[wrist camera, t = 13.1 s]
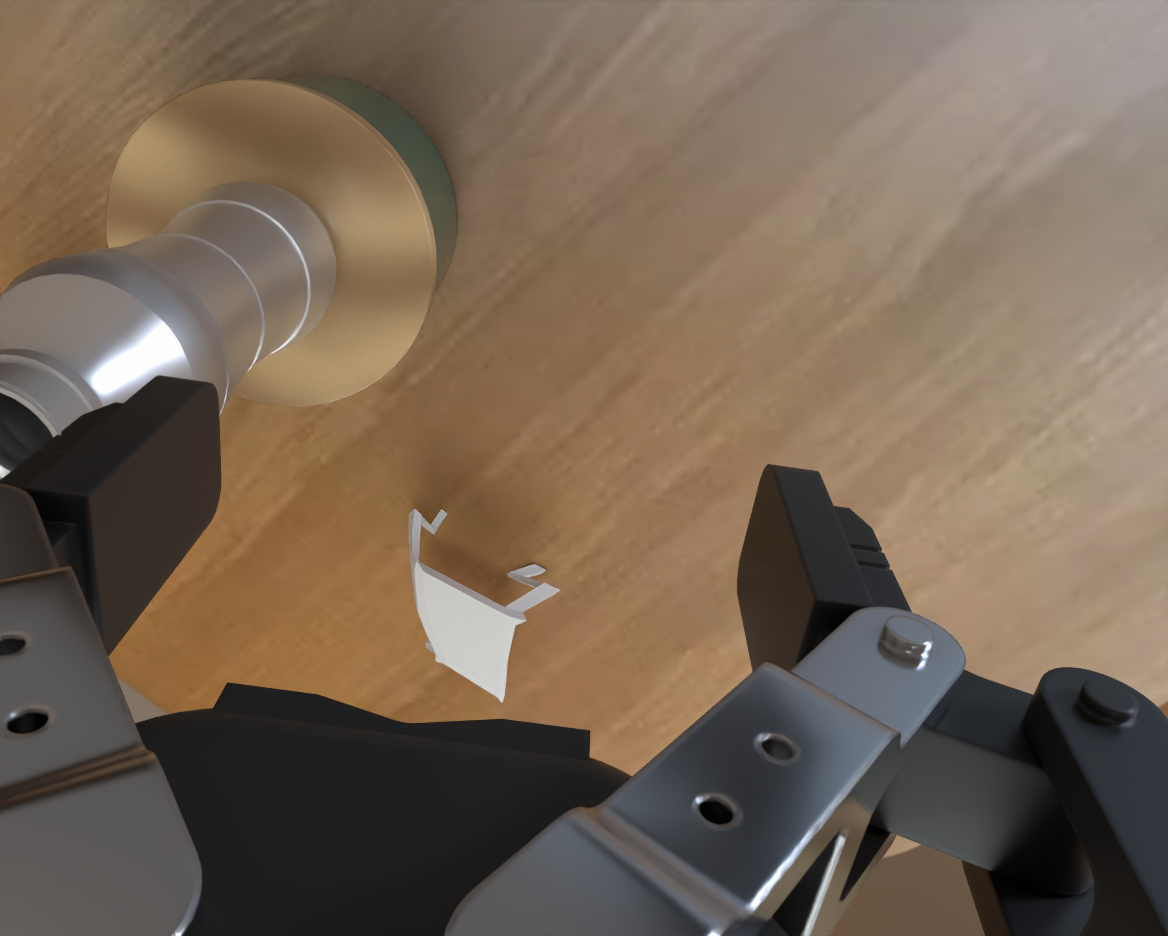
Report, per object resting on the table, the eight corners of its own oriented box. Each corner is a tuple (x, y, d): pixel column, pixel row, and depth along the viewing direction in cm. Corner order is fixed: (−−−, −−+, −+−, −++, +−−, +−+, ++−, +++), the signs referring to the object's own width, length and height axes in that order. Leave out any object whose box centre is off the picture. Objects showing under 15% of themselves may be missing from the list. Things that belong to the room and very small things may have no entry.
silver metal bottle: (179, 298, 41) (-164, 529, 23) (213, 144, 38) (-148, 267, 20) (325, 353, 42) (107, 618, 24) (369, 206, 39) (159, 378, 21)
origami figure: (594, 599, 57) (593, 648, 53) (493, 671, 60) (484, 724, 56) (454, 462, 54) (440, 502, 49) (353, 545, 56) (331, 591, 52)
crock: (184, 47, 45) (89, 56, 37) (473, 88, 45) (442, 105, 37) (198, 325, 51) (119, 386, 42) (453, 359, 51) (423, 425, 43)
